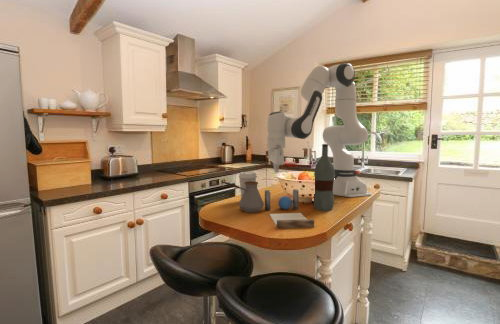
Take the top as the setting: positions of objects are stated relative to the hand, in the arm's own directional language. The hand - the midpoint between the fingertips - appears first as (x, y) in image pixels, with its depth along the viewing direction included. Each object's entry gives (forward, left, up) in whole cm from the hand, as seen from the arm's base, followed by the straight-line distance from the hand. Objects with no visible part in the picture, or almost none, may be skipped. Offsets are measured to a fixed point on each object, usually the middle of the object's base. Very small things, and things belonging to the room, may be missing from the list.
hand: (276, 172), depth 142 cm
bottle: (-20, +14, -16) cm, 29 cm away
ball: (-2, +13, -13) cm, 18 cm away
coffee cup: (+14, -3, -16) cm, 21 cm away
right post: (-6, +13, -16) cm, 21 cm away
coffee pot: (+18, +15, -16) cm, 28 cm away
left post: (+7, +13, -16) cm, 21 cm away
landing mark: (0, +27, -16) cm, 31 cm away
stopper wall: (0, +37, -16) cm, 40 cm away
